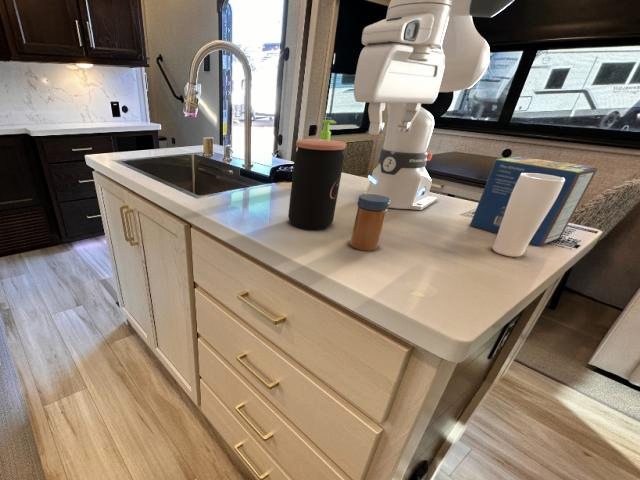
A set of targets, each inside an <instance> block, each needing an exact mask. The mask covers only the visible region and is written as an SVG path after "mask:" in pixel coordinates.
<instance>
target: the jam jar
mask: <svg viewBox="0 0 640 480" xmlns="http://www.w3.org/2000/svg"><path fill="white" fill-rule="evenodd" d="M387 210H388V209H387ZM387 210H384V211H373V210H367V209H363V208H361V207H359V206H358V205H357V209H356V214H355V218H354V223H353V227H352V233H351V238H350V243H349V245H350V246H351V247H352V248H355V249H357V250H358V251H359V250H360V251H367V252H368V251H370V252H371V251H375V250H377V249H378V246H379V242H380V238H381V234H382V230H383V226H384V223H385V218H386V214H387Z"/></svg>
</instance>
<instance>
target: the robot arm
mask: <svg viewBox="0 0 640 480" xmlns="http://www.w3.org/2000/svg"><path fill="white" fill-rule="evenodd" d="M514 1H515V0H390V2H389V4H388V7H387V11H386V16H385V18H384V19H382V20H380V21H377V22H374V23H372V24H369V25H367V26H365V27H364V28H363V30H362V34H361V44H362V45H363V48H362V50H361V51H360V54H359V57H358V60H357V64H356V70H355V76H354V83H353V97H354V101H355V102H356V103H369V104H368V109H367V113H368V119H369V122H370V123H369V126H368V134H369V135H377V136H378V135H382V134H383V132H384V128H385V122H383V112H385V109H386V108H387V125H386V131H385V137H384V142H383V147H382V149H380V152H379V154H378V161H377V162H378V165H377V166H376V167H375V168H374V169H373V170H372V173H371V175H370V174H368V176H367V178H368V179H369V183H368V186H367V189H366V191H363V192H362V195H363V194H375V195H381V196H385V197H388V198H389V199H390V203H389V207H388V209H398V210H399V209H400V210H413V211H414V210H415V211H422V210H424V209H425V208H427V207H429V206H430V205H431V204H434V203H435V202H436V200H437V197H435V196H433V195H430V190H431V187H432V184H433V183H432V181H433V180H432V179H431V177H430V175H429V173H428V171H427V169H426V166H427V161H429V162H430V161H431V159H432V157H433V153H432V152H427V151H428V147H429V143H430V140H431V137H432V134H433V129H434V126H435V119H434V116H433V115H432V113H431V112H430V111H428V110H427V109H425V108H424V107H422V104H423V105H424V104H427V105H430V104H431V105H432V104H434V102H436V100H437V98H438V95H439V93H451V92H457V91H462V90H468V89H471V88H472V87H473V86H474V85H476V84H477V83H478V81H480V79H481V78H482V77H483V76H484V74H485V72H486V70H487V69H488V66H489V62H490V57H491V56H490V55H491V51H490V45H489V44H488V42H487V40H486V39H485V38H484V37H483V36H482V35H481V34H480V33H479V32H478V30H477V29H476V27H475V24H474V21H473V17H474V18H475V17H476V18H493V17H494V16H496V15H497V14H499V13H500V12H502V11H503V10H505V9H506V8H507V7H508V6H510V5H511V4H513V2H514Z"/></svg>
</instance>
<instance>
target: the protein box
mask: <svg viewBox="0 0 640 480" xmlns="http://www.w3.org/2000/svg"><path fill="white" fill-rule="evenodd" d="M598 170H599V167H597V166H591V165H582V164H575V163H567V162H560V161H552V160H545V159H539V158H538V159H537V158H531V157H525V156H511V157H501V158H496V159H495V160H494V163H493V166H492V168H491V171H490V174H489V176H488V178H487V181H486V184H485V186H484V188H483V191H482V194H481V196H480V198H479V201H478V204H477V206H476V209H475V210H474V213H473V216H472V218H471V221H470V223H469V226H471V227H473V228H478V229H481V230H483V231H487V232H491V233H493V234H496V235H497V234H498V231H499V228H500V225H501V222H502V219H503V216H504V213H505V210H506V207H507V204H508V201H509V199H510V196H511V193H512V191H513V189H514V186H515V184H516V182H517V180H518V178H519V176H520V174H522V173H538V174H546V175H553V176H558V177H561V178H564V179H565V182H564V184H563V187H562V189H561V191H560V193H559V195H558V197H557V199H556V201H555V202H554V204H553V206H552V207H551V209H550V211H549V212H548V214H547V215H546V217H545V219H544V220H543V222H542V223H541V225H540V226H539V228H538V230H537V231H536V233H535V234H534V236H533V238H532V239H531V241H530V242H529V244H531V245H533V246H537V247H540V246H544V245H546V244H549V243H551V242H554V241H556V240H559V239H561V238H562V236H563V235H564V233H565V231H566V228H567V227H568V225H569V223H570V221H571V219H572V217H573V216H574V214H575V212H576V210H577V208H578V206H579V205H580V203H581V201H582V199H583V197H584V196H585V194H586V192H587V190H588V188H589V186H590V184H591V183H592V181H593V179H594V177H595V175H596V173H597V171H598Z"/></svg>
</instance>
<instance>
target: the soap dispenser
mask: <svg viewBox="0 0 640 480" xmlns="http://www.w3.org/2000/svg"><path fill="white" fill-rule="evenodd" d="M321 121H322V123H323V129H322V130H320V131H319V139H322V140H331V137H332V136H331V135H332V131H330V125H336V124H337V121H335V120H333V119H323V120H321Z"/></svg>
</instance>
